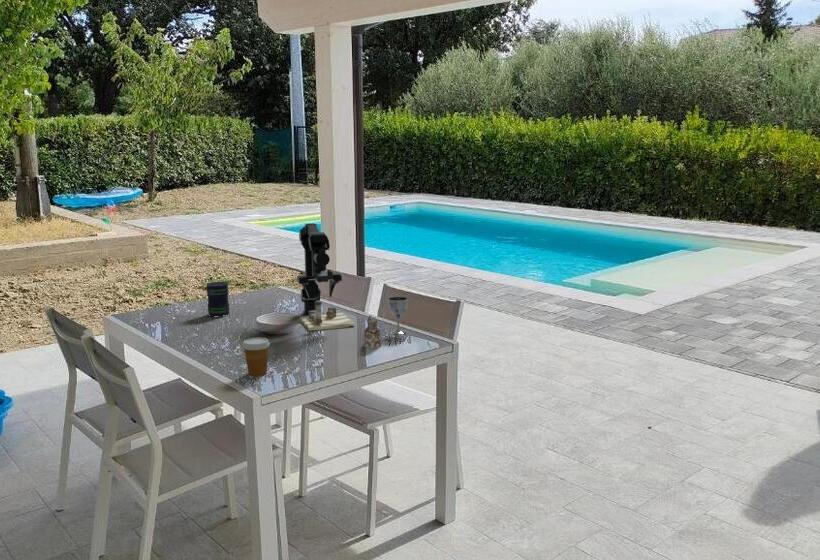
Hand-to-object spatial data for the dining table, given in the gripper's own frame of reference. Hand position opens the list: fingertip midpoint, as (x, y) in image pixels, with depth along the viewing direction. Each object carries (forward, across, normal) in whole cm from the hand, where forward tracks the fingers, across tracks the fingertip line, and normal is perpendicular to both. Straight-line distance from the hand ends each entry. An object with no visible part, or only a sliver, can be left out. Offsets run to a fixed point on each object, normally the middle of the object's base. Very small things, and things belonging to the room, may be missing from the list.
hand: (320, 297), depth 328 cm
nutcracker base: (+14, +4, +7) cm, 16 cm away
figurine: (+14, +13, -35) cm, 40 cm away
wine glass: (+14, +29, -20) cm, 38 cm away
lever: (+12, -1, +7) cm, 14 cm away
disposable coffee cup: (+14, -35, -54) cm, 66 cm away
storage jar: (+14, -40, +41) cm, 59 cm away
